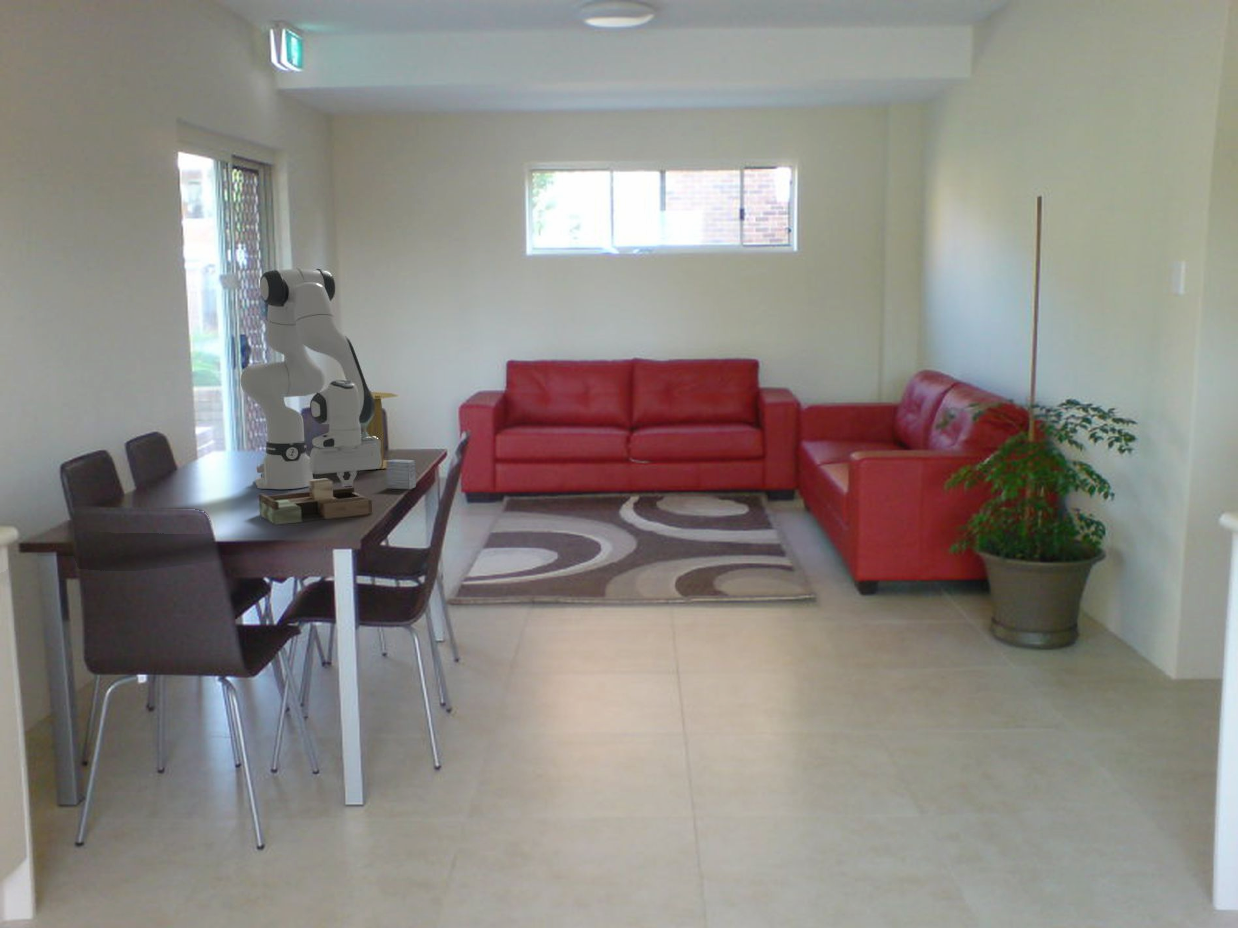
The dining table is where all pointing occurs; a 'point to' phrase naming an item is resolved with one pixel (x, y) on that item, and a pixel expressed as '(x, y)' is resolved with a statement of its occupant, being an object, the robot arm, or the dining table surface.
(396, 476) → the medicine box
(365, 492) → the dining table surface
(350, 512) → the board
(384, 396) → the hourglass
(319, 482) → the maple block
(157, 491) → the dining table surface
